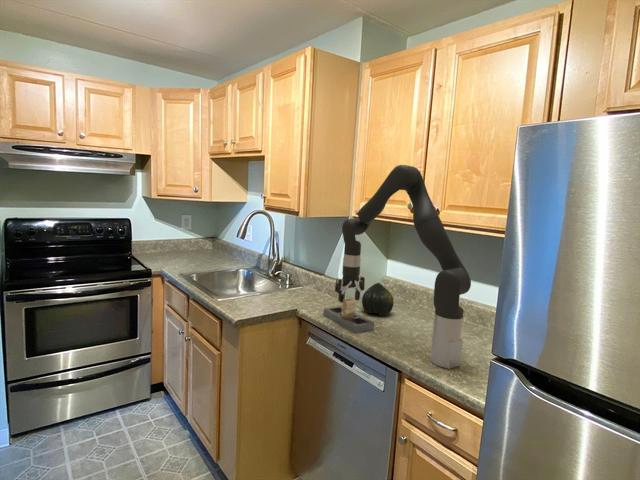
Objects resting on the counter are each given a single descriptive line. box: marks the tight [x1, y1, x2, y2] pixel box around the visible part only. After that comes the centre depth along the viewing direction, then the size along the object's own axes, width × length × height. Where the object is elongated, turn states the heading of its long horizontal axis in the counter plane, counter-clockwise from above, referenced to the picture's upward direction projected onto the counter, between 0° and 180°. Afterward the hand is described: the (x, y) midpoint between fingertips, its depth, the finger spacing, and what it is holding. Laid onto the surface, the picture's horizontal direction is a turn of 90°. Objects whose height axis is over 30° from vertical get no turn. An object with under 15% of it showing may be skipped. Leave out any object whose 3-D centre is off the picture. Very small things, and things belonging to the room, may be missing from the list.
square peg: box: [341, 298, 356, 319], centre depth 165 cm, size 4×4×10 cm
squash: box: [361, 282, 395, 317], centre depth 180 cm, size 14×15×15 cm
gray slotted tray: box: [322, 305, 375, 334], centre depth 165 cm, size 24×10×3 cm, turn 32°
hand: (349, 300), depth 164 cm, fingers open, 8 cm apart
